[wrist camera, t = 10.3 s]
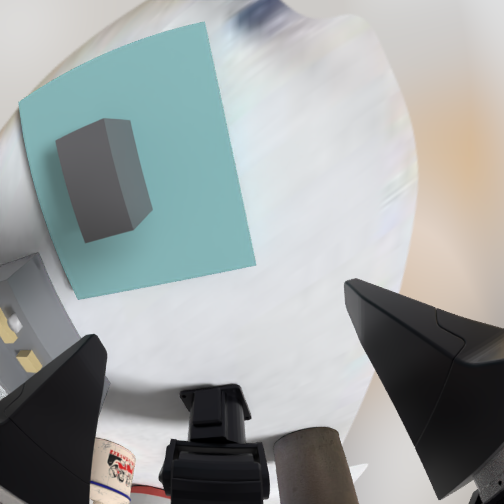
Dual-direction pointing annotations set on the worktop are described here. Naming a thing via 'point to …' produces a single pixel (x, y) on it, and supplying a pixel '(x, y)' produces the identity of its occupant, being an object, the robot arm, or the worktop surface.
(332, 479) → the pillar candle
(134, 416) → the worktop surface
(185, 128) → the lid
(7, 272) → the tub
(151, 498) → the citrus juicer
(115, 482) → the teacup with lid
